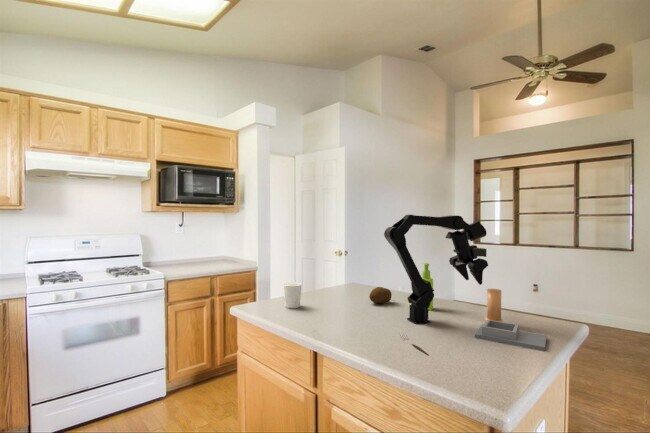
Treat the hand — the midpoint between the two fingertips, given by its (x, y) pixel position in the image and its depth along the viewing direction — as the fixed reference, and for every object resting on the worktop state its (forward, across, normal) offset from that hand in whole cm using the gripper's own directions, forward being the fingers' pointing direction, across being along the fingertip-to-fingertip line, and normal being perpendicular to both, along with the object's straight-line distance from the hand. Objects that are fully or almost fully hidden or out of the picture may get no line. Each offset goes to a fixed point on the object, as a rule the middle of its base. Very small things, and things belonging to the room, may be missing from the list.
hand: (474, 282), depth 138 cm
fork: (+2, -24, +38) cm, 45 cm away
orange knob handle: (+15, -7, +1) cm, 17 cm away
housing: (+14, -22, +5) cm, 26 cm away
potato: (+4, +28, +33) cm, 44 cm away
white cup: (-10, +28, +72) cm, 78 cm away
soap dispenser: (+10, +18, +16) cm, 26 cm away
